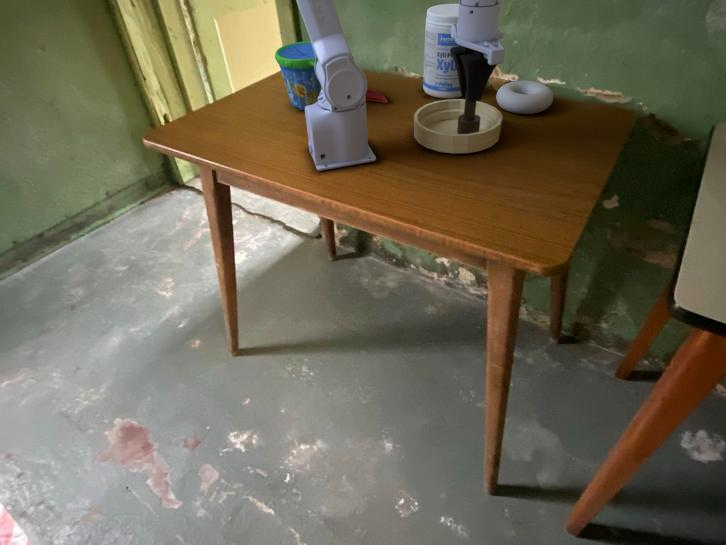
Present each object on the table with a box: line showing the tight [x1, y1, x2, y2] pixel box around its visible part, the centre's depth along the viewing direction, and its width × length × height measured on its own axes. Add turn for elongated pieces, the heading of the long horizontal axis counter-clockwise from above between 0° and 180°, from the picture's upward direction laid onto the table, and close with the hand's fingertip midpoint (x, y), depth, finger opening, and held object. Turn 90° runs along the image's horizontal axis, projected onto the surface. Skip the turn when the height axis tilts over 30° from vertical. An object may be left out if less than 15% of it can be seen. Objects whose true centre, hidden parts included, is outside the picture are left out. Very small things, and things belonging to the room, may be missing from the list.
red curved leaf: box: [365, 88, 389, 104], centre depth 96 cm, size 12×5×2 cm, turn 50°
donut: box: [495, 79, 554, 115], centre depth 89 cm, size 10×4×10 cm
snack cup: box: [274, 41, 322, 111], centre depth 93 cm, size 16×10×10 cm
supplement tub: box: [422, 3, 463, 100], centre depth 93 cm, size 10×10×15 cm
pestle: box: [457, 95, 480, 134], centre depth 78 cm, size 4×4×10 cm
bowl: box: [413, 98, 504, 154], centre depth 81 cm, size 14×14×4 cm
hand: (470, 97), depth 78 cm, fingers closed on pestle, 2 cm apart
